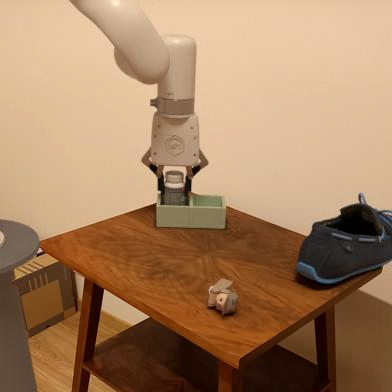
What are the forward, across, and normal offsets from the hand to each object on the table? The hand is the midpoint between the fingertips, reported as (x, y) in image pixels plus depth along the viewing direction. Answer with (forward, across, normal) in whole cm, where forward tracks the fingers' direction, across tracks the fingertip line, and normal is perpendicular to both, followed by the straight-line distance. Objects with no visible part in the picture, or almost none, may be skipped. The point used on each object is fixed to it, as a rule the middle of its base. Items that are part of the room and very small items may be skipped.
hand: (174, 193), depth 114 cm
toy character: (+4, +6, -36) cm, 37 cm away
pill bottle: (+4, 0, 0) cm, 4 cm away
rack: (+6, +4, 0) cm, 7 cm away
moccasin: (+6, +36, -18) cm, 41 cm away
